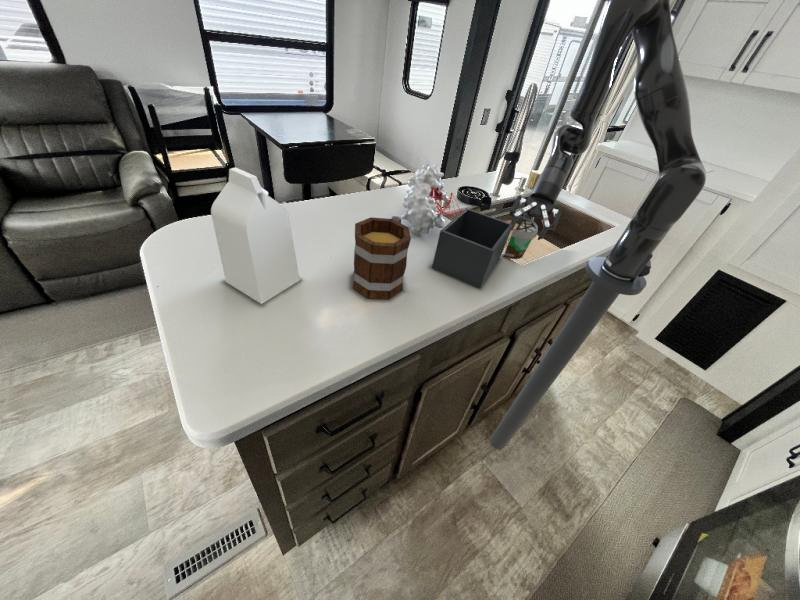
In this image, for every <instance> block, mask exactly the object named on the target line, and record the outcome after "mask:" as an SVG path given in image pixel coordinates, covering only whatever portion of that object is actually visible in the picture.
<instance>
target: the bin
mask: <svg viewBox="0 0 800 600" xmlns="http://www.w3.org/2000/svg"><path fill="white" fill-rule="evenodd" d="M456 216H457V217H455V216H454V218H453V219H452V220H451V221H449V222H448V223H447V224H446V225H444V227H443V228H441V229H440V230H439V236H438V238H437V242H436V247H435V252H434V257H433V261H432V266H431V268H432V269H434V270H436V271H439V272H441V273H443V274H444V275H445V274H446V275H448V276H450V277H452V278H455V279H456V280H459V281H462V282H464V283H467V284H469V285H471V286H473V287H475V288H478V289H481V287H482V286H483V285H484V283H485V282H486V280H487V279H488V277H489V276H490V274H491V273H492V271H493V269H494V268H495V267H496V265H498V262H499V261H500V260H501V258H502V255H503V252H504V249H505V247H506V244H507V243H508V239H509V237H510V234H511V233H512V230H511V229H512V227H513V224H510V223H511V222H508V221H505V220H502V219H500V218H496V217H494V216H491V215H487V214H485V213H482V212H479V211H476V210H473V209H471V208H468V207H466V208H464V209H462V212H461V213H460V212H459V214H457V215H456Z"/></svg>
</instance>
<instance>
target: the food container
mask: <svg viewBox="0 0 800 600" xmlns="http://www.w3.org/2000/svg"><path fill="white" fill-rule="evenodd" d="M538 231H539V226H538V224H537V223H536V221H534V220H532V219H531V218H529V217H526V216H523V217H522V220H521V221H520V223H519V224H518V225H517V226H516V228H513V230H512V231H511V235H510V238H509V240H508V242H507V246H506V248H505V252H504V254H503V258H506V259H509V260H518V259H519V260H520V259H522V258H523V257H524V255H525V254H526V251H527V249H528V248H529V245H530V244H531V242H532V240H533V239H535V238H536V237H537V235H538Z"/></svg>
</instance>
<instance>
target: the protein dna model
mask: <svg viewBox="0 0 800 600" xmlns="http://www.w3.org/2000/svg"><path fill="white" fill-rule="evenodd" d="M444 176H445V174H444V172H441V171H440V169H439V164H438V163H435V164H433V165H432V166H431V164H430V162H426V163H425V164H423V165H422V169H419V168H417V169H415V172H414V174H412V175H410V177H409V178H408V182H407V186H408V189H407V190H406V194H407V195H405V197H403V201H402V206H403V208H404V209H405V212H404V213H403V215H401V217H400V218H401V220H407V222H408V223H409V224H410V226H411V227H412V228H411V231H412V232H413V233H414V234H415V235H416V236H418V235H421V234H425V235H429V234H430V230H431V229H434V228H437V229H443V228H444V227H445V226H446V225H445V224H446V219H445V218H443V215H448V216H450V217H454V218H455V217H457V216H458V214H457V211H456V208H455V205H453V209H454V213H455V214H452V212H451V209H450V208H448V207H449V206H450V204H451V203H454V201H455V202H456V201H457V199H456V198H455V196H454V193H453V192H450V197H448V196H447V194H448V191H447V189H445V186H444V183H443V181H442V178H443V177H444ZM453 199H454V200H453ZM444 200H445V201H446V202H447V204H446V206H444V208H443V207H442V206H443V203H442V202H443V201H444ZM438 201H439V202H438ZM450 202H451V203H450ZM456 206H457V208H458V211H459V214H460V213H461V212H462V211H463V207H461V208H460V207H459V204H458V203H456ZM447 208H448V210H449V213H447V212H446V209H447ZM436 209H437V210H436Z"/></svg>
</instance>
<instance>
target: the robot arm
mask: <svg viewBox="0 0 800 600" xmlns="http://www.w3.org/2000/svg"><path fill="white" fill-rule="evenodd" d="M630 33H631V35H632V38H633V39H632V40H633V42H634V45H635V50H636V60H637V61H636V69H635V76H634V82H633V83H634V84H633V89H634V90H633V95H634V100H635V105H636V108H637V112H638V116H639V118H640V122H641V124H642V127H643V128H644V130H645V133H646V135H647V136H648V138H649V140H650V141H651V145H652V146H653V148H654V151H655V155H656V161H657V167H658V179H657V180H656V182H655V183H654V185H653V186H652V188H651V189H650V191H649V193H648V194H647V196H646V197H645V199H644V201H643V202H642V203H641V204H640V206H639V208H638V209H637V210H636V212H635V214H634V215H633V217H632V218H631V220H630V221H629V223H628V224H627V226H626V227H625V229H624V230H623V232H622V233H621V235H620V237H619V238H618V240H617V241H616V243H615V244H614V246H613V247H612V249H611V251H610V252H609V253H608V255H607V257H606V259H605V261H604V262H603V264H602V265H601V269H602V270H603V271H604V272H605V273H606V274H607V275H609V276H611V277H613V278H615V279H617V280H621V281H629V282H632V283H633V282H634V280H635V279H636V278H637V276H638V277H642V276H643V277H646V276H648V275H649V274H650V273H651V269H652V262H651V259H652V258H653V253H654V252H655V250H656V249H657V247H658V246H659V245H660V243H662V241H663V240H664V238H665V237H666V236H667V234H668V233H669V232H670V231H671V230H672V228H673V227H674V225H675V224H676V223H677V222H678V221H679V220H680V219H681V218H682V217H683V215H684V214H685V213H686V212H687V210H688V209H689V208H690V206H691V205H692V204H693V203H694V202H695V200H696V199H697V198H698V196H699V195H700V194H701V192H702V190H703V189H704V187H705V185H706V181H707V170H706V168H705V166H704V164H703V162H702V159H701V157H700V154H699V152H698V150H697V146H696V144H695V141H694V137H693V131H692V121H691V120H692V119H691V116H692V115H691V106H690V100H689V99H690V98H689V92H688V88H687V83H686V79H685V75H684V71H683V69H682V65H681V60H680V55H679V51H678V47H677V43H676V39H675V36H674V31H673V23H672V13H671V1H670V0H608V1H607V3H606V7H605V10H604V12H603V16H602V20H601V24H600V27H599V31H598V33H597V34H598V35H597V39H596V41H595V45H594V49H593V52H592V56H591V59H590V61H589V65H588V68H587V71H586V75H585V76H584V79H583V82H582V84H581V86H580V89H579V91H578V93H577V96H576V99H575V101H574V103H573V105H572V108H571V111H570V117H571V119H572V120H573V121H575V122H576V123H578V124H580V125H581V127H579V126H575V125H571V124H562V125H561V126H559V127H558V129H556V131H555V133H554V135H553V139H552V140H553V141H552V145H551V152H550V154H549V155H550V156H549V158H548V160H547V163H546V165H545V167H544V168H543V171H542V172H541V173H540V175H539V176H538V178H537V180H536V183H535V185H534V187H533V189H532V191H531V192H530V195H529V196H528V198H527V199H526V198H524V197H522V195H521V194H519V195H517V196H516V199H515V201H514V202H513V204H512V206H511V207H510V209H509V216H511V217H512V218H511V221H510V222H509V223H510V224H513V227H512V229H511V231H513V230H514V229H515V227H516V224H517V222H518V220H519V219H520V218H524V217H526V216H527V215H528V217H530V218H534V219H536V220H541V223H542V229H541V231H540V233H539V235H538V237H537V240H538V241H540V240H543V239H544V238H545V236H546V234H547V232H548V231H549V230H551V231H555V230H556V228H557V226H558V224H559V221H560V219H561V216H562V214H563V210H564V209H563V208H559V209H557V208H554V205H555V203H556V201H557V200H558V198H559V196H560V194H561V191H562V190H563V187H564V185H565V182H566V179H567V177H568V175H569V173H570V171H571V169H572V167H573V165H574V158H573V157H572V155H570V154H573V155H577V156H578V155H582V154H583V153H585V152H586V151H587V150H588V148H589V147H590V145H591V141H592V137H593V130H594V127H595V123H596V119H597V117H598V114H599V112H600V110H601V108H602V106H603V104H604V102H605V100H606V98H607V95H608V93H609V90H610V88H611V86H612V81H613V75H614V72H615V71H614V70H615V66H616V62H617V59H618V56H619V54H620V52H621V49H622V47H623V45H624V43H625V41H626V40H627V38H628V37H629V35H630ZM523 204H524V207H523V208H521V209H520V210H518V207H519V206H522V205H523ZM517 210H518V211H517ZM551 214H552V215H553V218H554V219H553V222H552V223H550V220H549V215H551Z"/></svg>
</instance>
